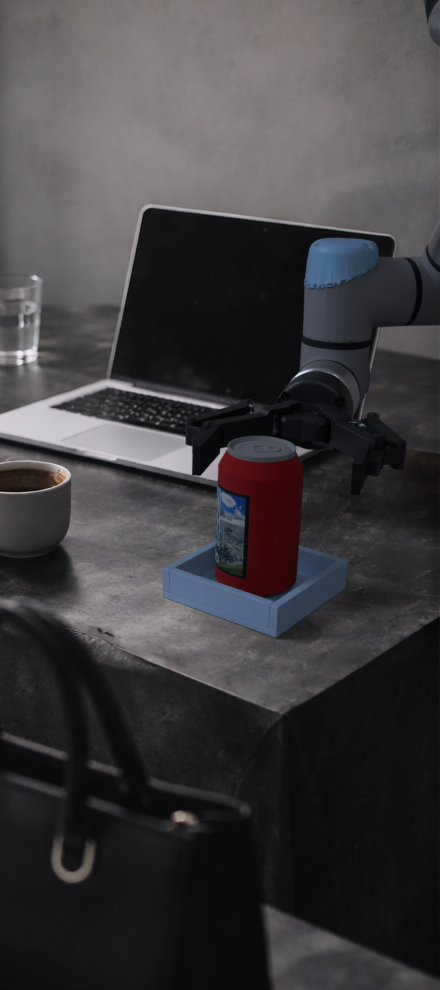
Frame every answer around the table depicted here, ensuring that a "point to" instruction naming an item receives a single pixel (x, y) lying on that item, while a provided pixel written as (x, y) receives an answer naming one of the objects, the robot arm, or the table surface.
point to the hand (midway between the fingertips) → (274, 470)
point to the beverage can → (258, 515)
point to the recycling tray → (271, 615)
